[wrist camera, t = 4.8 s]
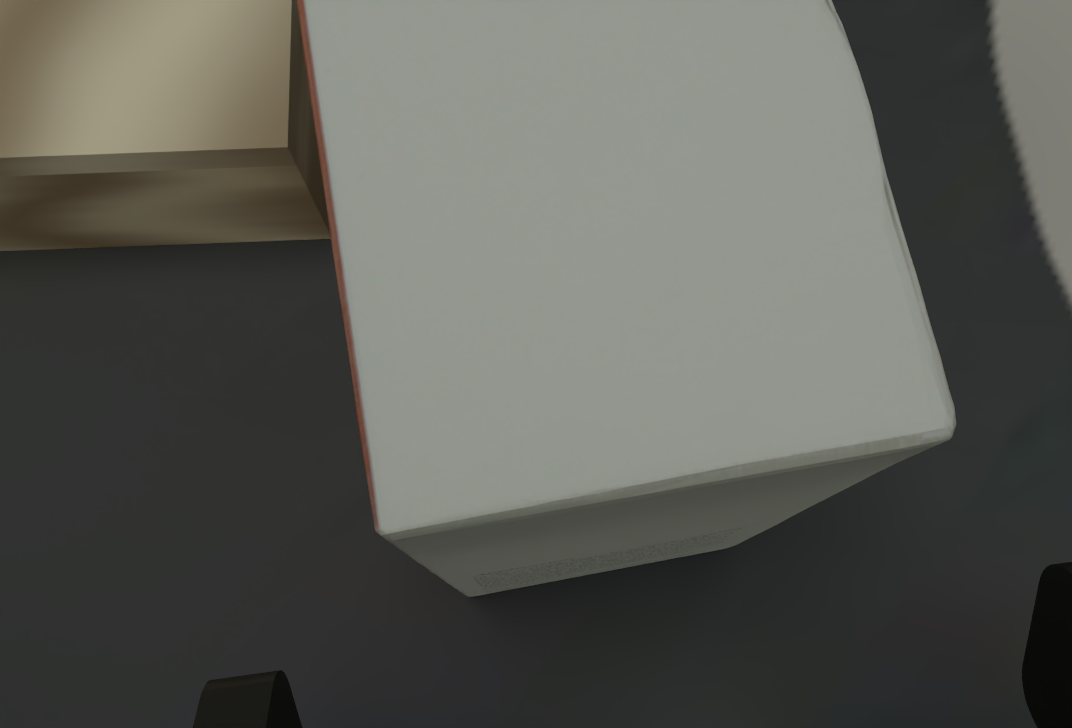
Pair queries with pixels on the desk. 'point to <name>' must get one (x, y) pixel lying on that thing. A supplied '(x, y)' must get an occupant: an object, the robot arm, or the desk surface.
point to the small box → (611, 275)
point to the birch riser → (155, 124)
